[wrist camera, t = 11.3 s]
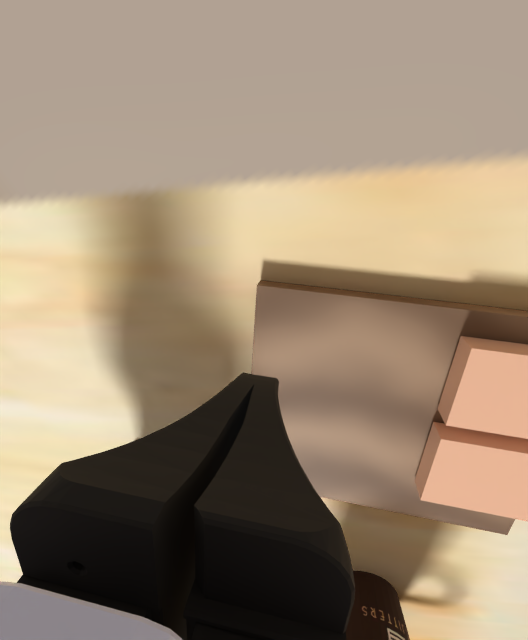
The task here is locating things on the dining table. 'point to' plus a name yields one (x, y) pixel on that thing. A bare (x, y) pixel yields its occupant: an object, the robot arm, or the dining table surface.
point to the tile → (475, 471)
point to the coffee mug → (375, 610)
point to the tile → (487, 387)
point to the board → (369, 386)
